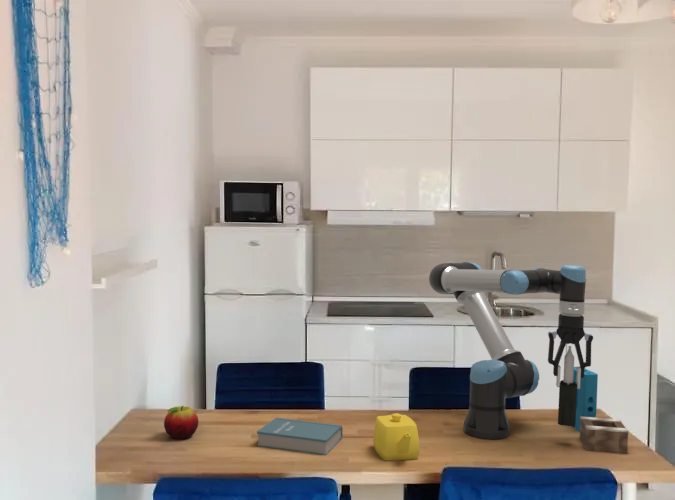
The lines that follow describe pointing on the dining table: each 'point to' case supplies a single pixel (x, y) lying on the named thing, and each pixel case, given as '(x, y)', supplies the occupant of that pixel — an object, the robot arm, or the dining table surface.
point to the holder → (603, 434)
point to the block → (585, 396)
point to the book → (300, 436)
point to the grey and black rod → (567, 393)
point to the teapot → (396, 438)
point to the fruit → (181, 422)
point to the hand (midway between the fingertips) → (568, 386)
